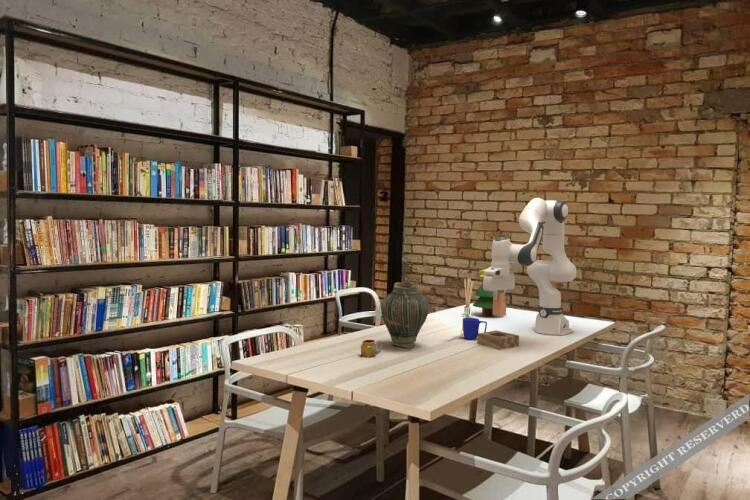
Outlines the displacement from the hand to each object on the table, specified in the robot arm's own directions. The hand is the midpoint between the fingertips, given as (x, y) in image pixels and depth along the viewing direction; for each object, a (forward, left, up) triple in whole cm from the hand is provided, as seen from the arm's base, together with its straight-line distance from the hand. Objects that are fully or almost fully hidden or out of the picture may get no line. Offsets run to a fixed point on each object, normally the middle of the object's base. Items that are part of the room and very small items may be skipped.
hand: (498, 299), depth 272 cm
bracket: (-1, 0, -8) cm, 8 cm away
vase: (+39, -24, -23) cm, 51 cm away
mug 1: (+62, -19, -23) cm, 69 cm away
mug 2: (-1, -15, -23) cm, 27 cm away
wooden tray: (-1, 0, -22) cm, 22 cm away
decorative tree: (-58, -53, -23) cm, 82 cm away
